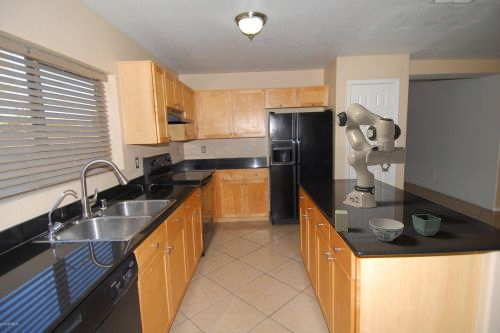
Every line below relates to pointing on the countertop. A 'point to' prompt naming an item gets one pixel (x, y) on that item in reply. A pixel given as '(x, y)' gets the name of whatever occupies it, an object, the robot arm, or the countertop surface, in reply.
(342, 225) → the sage block
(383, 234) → the chinaware
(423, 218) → the flower pot
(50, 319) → the countertop surface
